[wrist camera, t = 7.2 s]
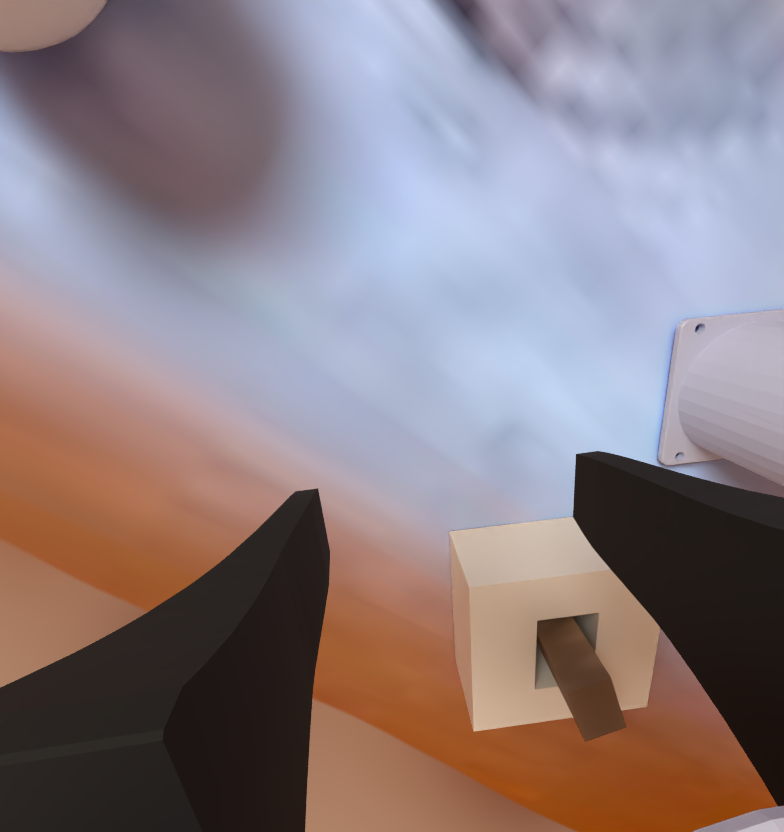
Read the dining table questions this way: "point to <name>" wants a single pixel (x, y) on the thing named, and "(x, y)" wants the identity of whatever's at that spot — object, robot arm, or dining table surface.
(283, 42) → the dining table surface
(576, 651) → the brown rectangular block
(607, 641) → the cream square hole block
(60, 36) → the lidded jar
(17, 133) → the dining table surface
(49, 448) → the dining table surface
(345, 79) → the dining table surface
